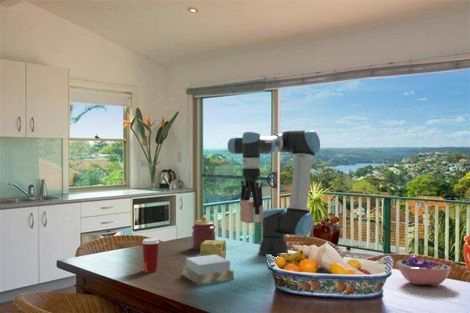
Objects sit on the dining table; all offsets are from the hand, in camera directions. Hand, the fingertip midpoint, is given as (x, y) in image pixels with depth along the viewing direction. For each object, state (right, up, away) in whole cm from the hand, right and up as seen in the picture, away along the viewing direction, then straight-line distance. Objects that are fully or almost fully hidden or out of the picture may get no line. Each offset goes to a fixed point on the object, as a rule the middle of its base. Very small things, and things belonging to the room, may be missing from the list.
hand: (251, 220), depth 197 cm
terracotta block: (0, 0, 0) cm, 0 cm away
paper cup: (-45, -24, +7) cm, 51 cm away
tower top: (-19, -20, -4) cm, 28 cm away
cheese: (-18, -23, +22) cm, 37 cm away
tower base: (-18, -24, -3) cm, 30 cm away
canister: (-24, -23, +53) cm, 62 cm away
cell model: (+68, -23, -16) cm, 73 cm away
